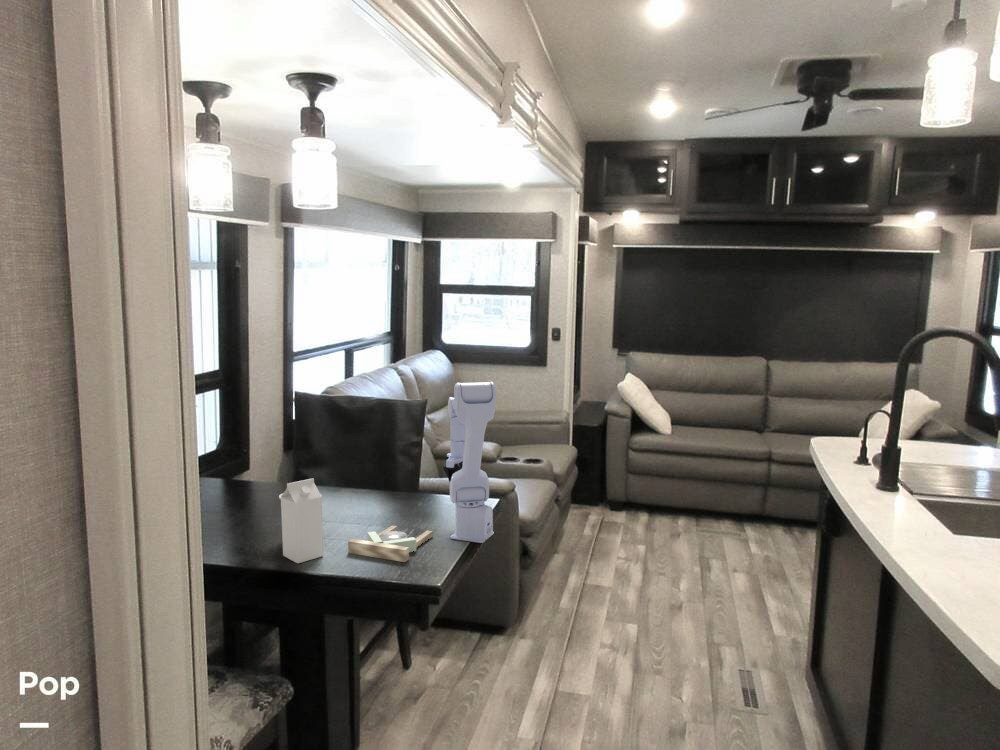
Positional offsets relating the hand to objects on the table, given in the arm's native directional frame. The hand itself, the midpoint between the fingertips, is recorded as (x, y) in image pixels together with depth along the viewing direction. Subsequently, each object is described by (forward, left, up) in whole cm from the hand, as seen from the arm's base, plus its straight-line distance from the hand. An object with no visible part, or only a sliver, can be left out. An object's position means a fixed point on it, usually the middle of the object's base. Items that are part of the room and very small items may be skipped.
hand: (460, 486), depth 200 cm
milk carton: (+24, +40, -10) cm, 48 cm away
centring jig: (+7, +26, -9) cm, 29 cm away
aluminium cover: (+7, +26, -10) cm, 28 cm away
